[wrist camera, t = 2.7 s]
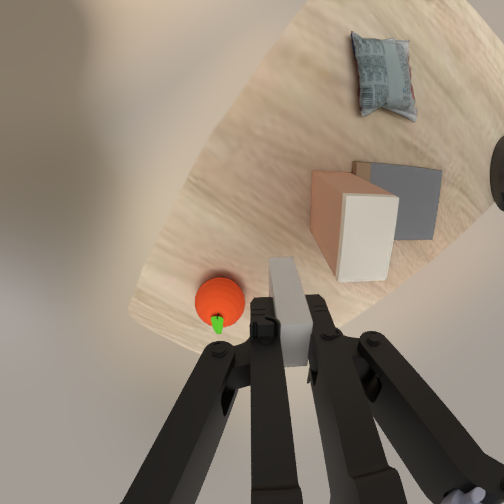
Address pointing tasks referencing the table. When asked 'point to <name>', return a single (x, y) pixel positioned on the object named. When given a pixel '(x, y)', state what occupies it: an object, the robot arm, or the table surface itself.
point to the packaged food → (384, 76)
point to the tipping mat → (407, 195)
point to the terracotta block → (353, 225)
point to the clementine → (219, 303)
